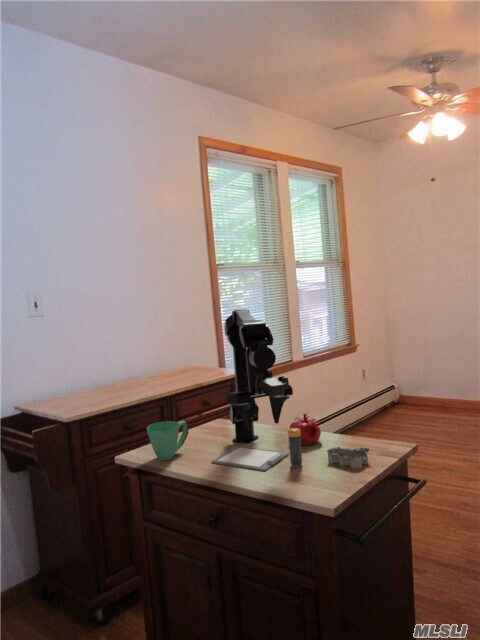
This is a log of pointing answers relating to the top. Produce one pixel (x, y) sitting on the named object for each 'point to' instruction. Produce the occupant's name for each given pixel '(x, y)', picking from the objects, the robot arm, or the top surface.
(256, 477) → the top surface
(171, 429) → the mug
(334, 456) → the egg carton
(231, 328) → the robot arm
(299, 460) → the marker
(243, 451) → the whiteboard
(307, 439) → the pomegranate
